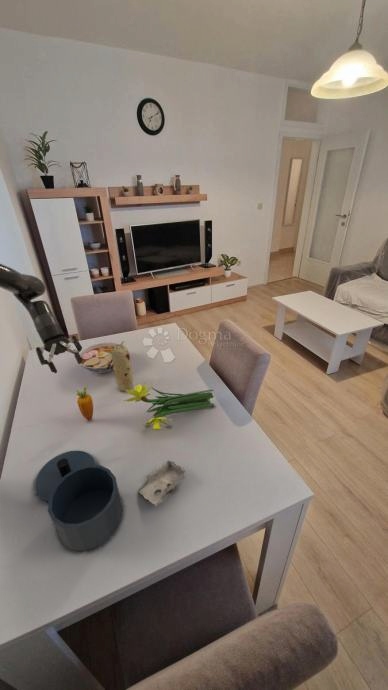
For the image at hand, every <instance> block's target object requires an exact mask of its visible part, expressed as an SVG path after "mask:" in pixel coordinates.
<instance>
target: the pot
mask: <svg viewBox="0 0 388 690" xmlns="http://www.w3.org/2000/svg"><path fill="white" fill-rule="evenodd" d="M47 502H48V501H47ZM47 512H48V515H49V517H50V519H51V521H52V523H53V525H54V528H55V530H56V533H57V534H58V536H59V539H60V540H61V542H62V544H63V545H64V546H65V547H66V548H68V549H70V550H72V551H74V552H75V551H76V552H85V551H90V550H94V549H96V548H98V547H99V546H101V545H103V544H104V543H106V542H107V541H108V540H109V539H110V538H111V537H112V536H113V535H114V533H115V532H116V530H117V528H118V527H119V524H120V522H121V519H122V513H123V506H122V500H121V495H120V492H119V487H118V482H117V478H116V476H115V474H114V473H113V472H112V471H111V469H110V468H107V467H105V466H103V465H100V464H96V465H87V466H83V467H80V468H77V469H75V470H73V471H72V472H70V473H68V474H67V475H65V476H64V477H63V478H62V479H61V480H60V481H59V482H58V483H57V484H56V485H55V487H54V489H53V491H52V493H51V495H50V497H49V502H48V503H47Z"/></svg>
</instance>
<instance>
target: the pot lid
mask: <svg viewBox="0 0 388 690" xmlns="http://www.w3.org/2000/svg"><path fill="white" fill-rule="evenodd" d="M87 465H97V464H96V461H95V459H94V457H93V456H92V455H91V454H90V453H88V452H86V451H83V450H69V451H65V452H62V453H60V454H58V455H55V457H53V458H51V459H50V460H49V461H47V462H46V463H45V464H44V465H43V466H42V468H41V469H40V471H39V472H38V474H37V475H36V478H35V482H34V489H35V492H36V494H37V496H38V497H39V498H40V499H41V500H43V501H44V502H49V497H50V495H51V493H52V491H53V489H54V487H55V485H56V484H57V483H58V482H59V481H60V480H61V479H62V478H63V477H64V476H65V475H67V474H68V473H70V472H72V471H73V470H75V469H77V468H80V467H83V466H87Z"/></svg>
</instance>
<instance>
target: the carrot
mask: <svg viewBox="0 0 388 690" xmlns="http://www.w3.org/2000/svg"><path fill="white" fill-rule="evenodd" d="M82 387H83V391H81V392H80V391H79V390H78V389H76V390H75V392H76V394H75V395H77V396H78V397H77V400H76V403H77V406H78V409H79V412H80V414H81V416H83V418H85V420H87V421H88V422H90V421H92V419H93V416H94V402H93V397H92V395H90V394H88V393H87V386H85V385H84V386H82Z"/></svg>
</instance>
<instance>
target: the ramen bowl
mask: <svg viewBox="0 0 388 690" xmlns="http://www.w3.org/2000/svg"><path fill="white" fill-rule="evenodd" d="M124 342H125V340H122V341H121V343H119V342H112V341H108V342H99V343H95V344H92V345H89V346H87V347H86V348H84V349H82V350H81V351H80V352H79V354H80V356H81V358H82V361H81V364H79V365H80V367H82V368H84V369H86V370H88V371H89V372H92V373H98V374H101V373H102V374H103V373H108V372H112V371H114V366H113V359H112V351H114V346H115V345H117V344H120V345H124Z"/></svg>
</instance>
